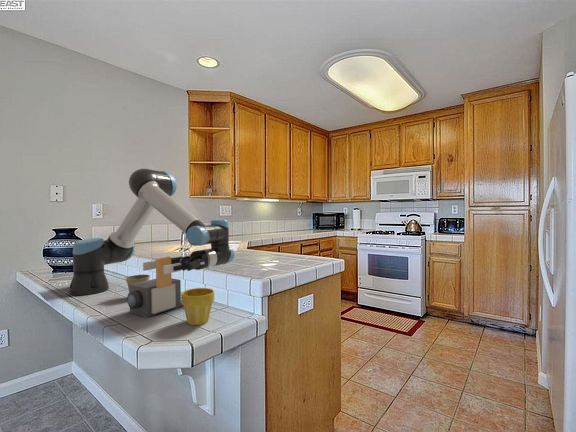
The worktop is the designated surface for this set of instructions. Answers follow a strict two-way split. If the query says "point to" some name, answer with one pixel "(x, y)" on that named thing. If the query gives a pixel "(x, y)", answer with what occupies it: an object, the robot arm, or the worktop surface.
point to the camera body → (148, 297)
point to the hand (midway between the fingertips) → (153, 268)
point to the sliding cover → (163, 288)
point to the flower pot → (136, 279)
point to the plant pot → (197, 304)
